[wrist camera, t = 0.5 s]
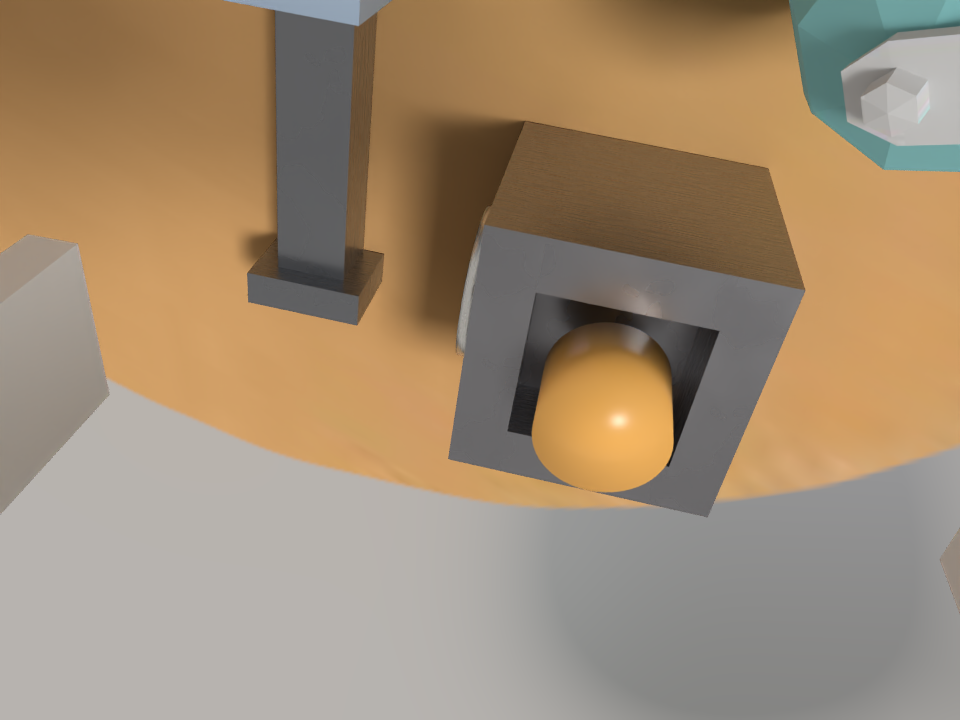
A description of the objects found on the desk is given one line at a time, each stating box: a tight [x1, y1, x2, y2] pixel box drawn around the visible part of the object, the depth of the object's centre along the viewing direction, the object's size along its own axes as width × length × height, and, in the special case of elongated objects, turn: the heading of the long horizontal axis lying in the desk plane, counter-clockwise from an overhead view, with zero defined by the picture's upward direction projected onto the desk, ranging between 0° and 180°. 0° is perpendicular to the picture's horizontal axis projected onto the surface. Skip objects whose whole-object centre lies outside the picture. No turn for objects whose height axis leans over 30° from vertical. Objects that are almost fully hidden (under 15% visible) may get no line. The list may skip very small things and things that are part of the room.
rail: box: [247, 10, 384, 325], centre depth 31 cm, size 22×5×4 cm, turn 172°
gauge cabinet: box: [448, 121, 805, 517], centre depth 32 cm, size 10×11×10 cm
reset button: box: [532, 322, 674, 492], centre depth 27 cm, size 4×4×4 cm
